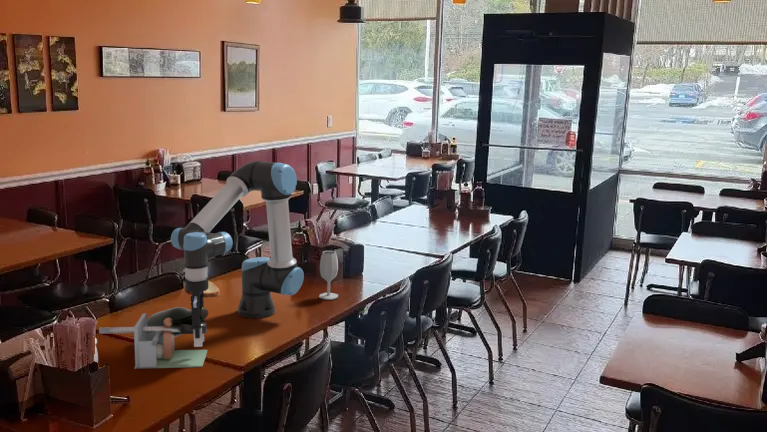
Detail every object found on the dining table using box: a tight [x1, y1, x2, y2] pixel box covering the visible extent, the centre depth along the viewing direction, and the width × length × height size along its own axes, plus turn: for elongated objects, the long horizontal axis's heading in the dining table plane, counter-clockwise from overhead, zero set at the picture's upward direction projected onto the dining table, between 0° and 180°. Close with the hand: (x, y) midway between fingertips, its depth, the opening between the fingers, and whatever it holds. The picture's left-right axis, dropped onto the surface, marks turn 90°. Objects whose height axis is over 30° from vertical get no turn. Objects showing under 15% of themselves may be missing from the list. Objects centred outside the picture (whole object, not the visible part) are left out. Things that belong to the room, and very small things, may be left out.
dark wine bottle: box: [147, 306, 209, 338], centre depth 240 cm, size 10×10×33 cm
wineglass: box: [318, 250, 339, 301], centre depth 305 cm, size 9×9×21 cm
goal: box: [133, 312, 164, 369], centre depth 233 cm, size 7×14×14 cm, turn 7°
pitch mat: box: [134, 349, 208, 370], centre depth 235 cm, size 22×14×1 cm, turn 97°
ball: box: [156, 344, 164, 359], centre depth 234 cm, size 5×5×5 cm
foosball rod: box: [98, 318, 208, 359], centre depth 233 cm, size 35×6×14 cm, turn 97°
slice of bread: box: [190, 279, 221, 298], centre depth 312 cm, size 18×18×4 cm
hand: (199, 343), depth 235 cm, fingers open, 4 cm apart
